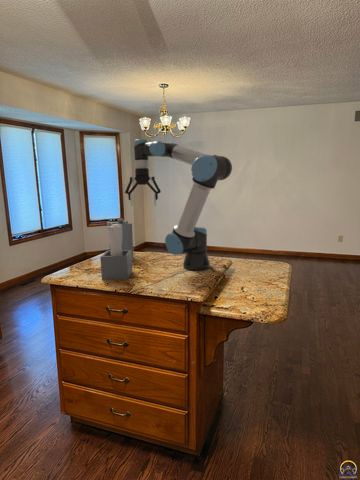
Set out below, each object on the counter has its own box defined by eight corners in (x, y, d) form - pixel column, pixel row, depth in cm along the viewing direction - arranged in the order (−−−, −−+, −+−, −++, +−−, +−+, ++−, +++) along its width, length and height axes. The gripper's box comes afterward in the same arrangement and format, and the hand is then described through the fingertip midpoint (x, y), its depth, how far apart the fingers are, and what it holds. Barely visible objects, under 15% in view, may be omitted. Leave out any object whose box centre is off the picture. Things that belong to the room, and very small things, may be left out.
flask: (135, 257, 208) (133, 218, 203) (131, 258, 204) (129, 219, 199) (113, 254, 215) (111, 217, 211) (109, 256, 211) (106, 218, 207)
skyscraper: (107, 276, 166) (104, 222, 160) (111, 271, 174) (108, 220, 168) (124, 276, 165) (121, 222, 160) (127, 271, 173) (124, 220, 168)
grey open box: (132, 271, 176) (131, 250, 173) (128, 279, 163) (126, 256, 160) (108, 271, 176) (106, 250, 174) (101, 279, 163) (100, 256, 161)
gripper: (164, 167, 184) (165, 204, 188) (121, 168, 185) (123, 205, 189) (163, 167, 177) (164, 205, 181) (118, 168, 178) (120, 206, 182)
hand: (143, 205), depth 185 cm, fingers open, 13 cm apart
